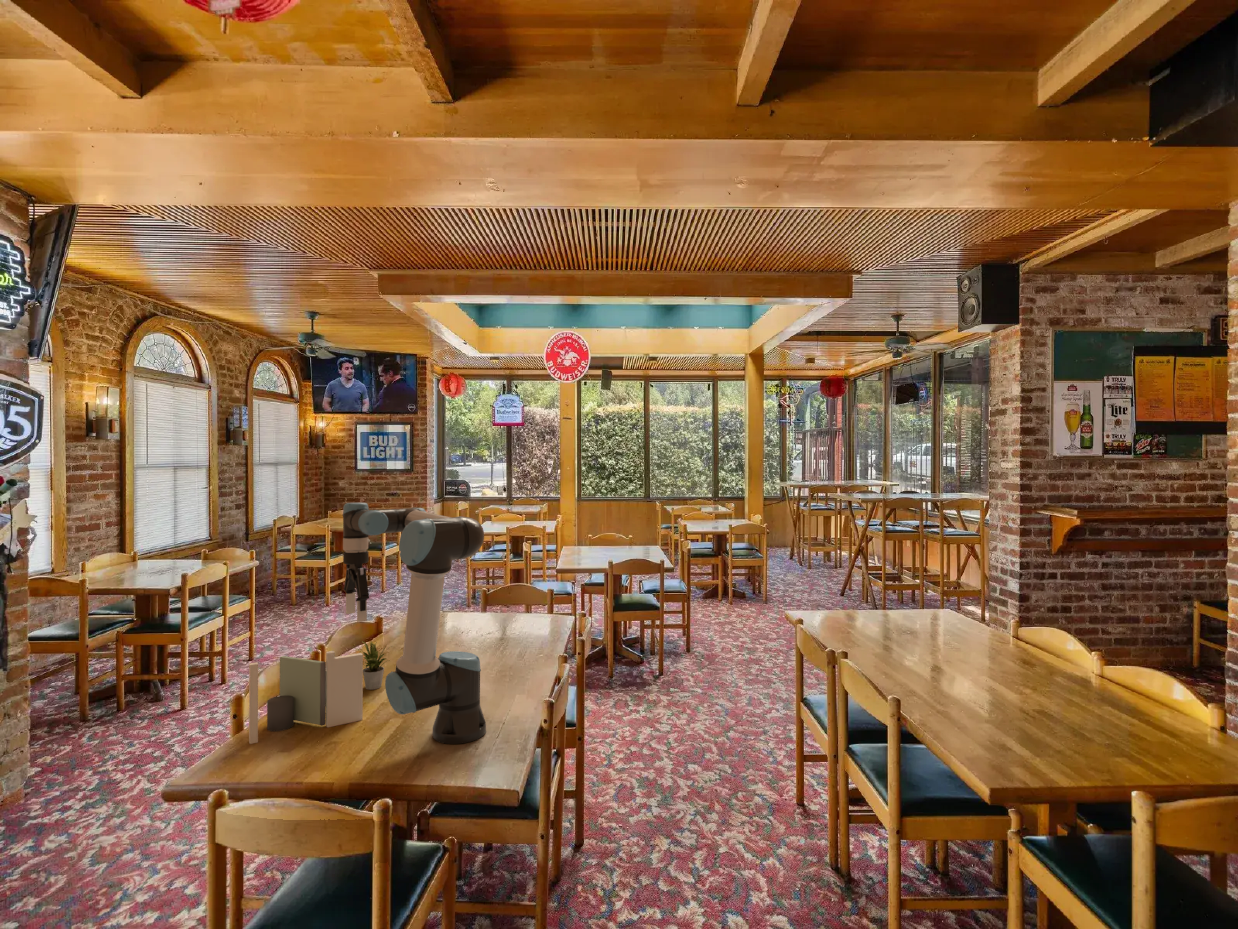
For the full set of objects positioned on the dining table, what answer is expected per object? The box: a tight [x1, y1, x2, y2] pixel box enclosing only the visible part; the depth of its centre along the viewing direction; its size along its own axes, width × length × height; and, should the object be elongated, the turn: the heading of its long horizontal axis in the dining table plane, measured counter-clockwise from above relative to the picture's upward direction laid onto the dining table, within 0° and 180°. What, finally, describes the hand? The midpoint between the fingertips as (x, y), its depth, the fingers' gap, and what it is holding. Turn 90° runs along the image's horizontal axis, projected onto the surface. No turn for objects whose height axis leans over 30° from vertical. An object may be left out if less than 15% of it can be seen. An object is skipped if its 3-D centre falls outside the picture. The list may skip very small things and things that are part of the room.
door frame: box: [248, 650, 364, 745], centre depth 188 cm, size 2×30×22 cm, turn 125°
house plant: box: [350, 641, 393, 691], centre depth 224 cm, size 14×14×16 cm
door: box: [279, 655, 326, 726], centre depth 193 cm, size 1×17×18 cm, turn 69°
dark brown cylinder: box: [266, 695, 295, 732], centre depth 190 cm, size 7×7×8 cm
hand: (356, 617), depth 205 cm, fingers open, 13 cm apart
